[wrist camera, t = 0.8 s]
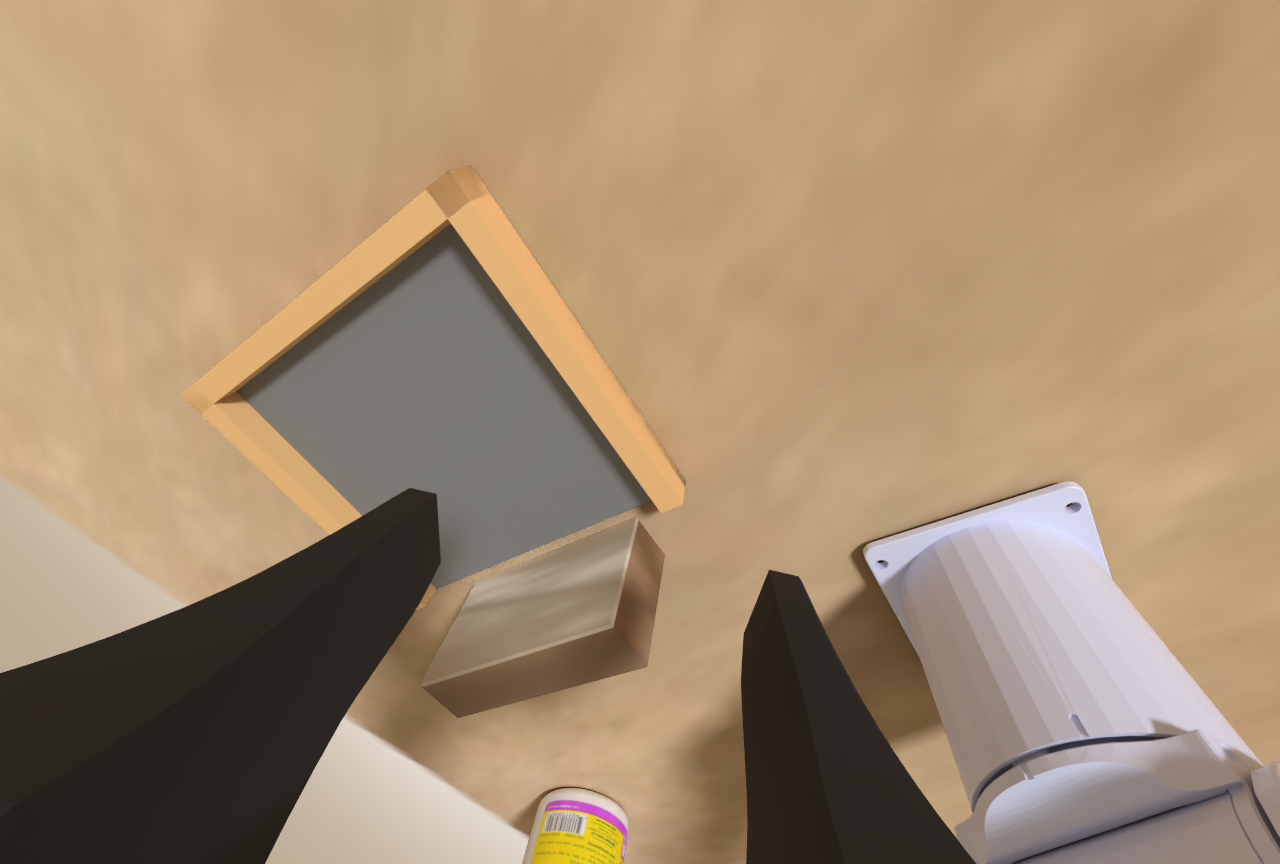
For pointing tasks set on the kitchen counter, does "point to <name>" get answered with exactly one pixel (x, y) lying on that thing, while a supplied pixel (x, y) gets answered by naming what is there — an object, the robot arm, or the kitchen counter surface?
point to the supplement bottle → (577, 829)
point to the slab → (552, 623)
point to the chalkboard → (440, 391)
